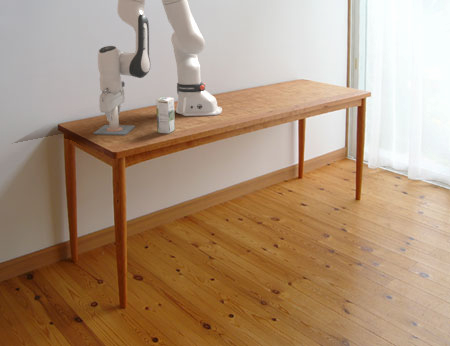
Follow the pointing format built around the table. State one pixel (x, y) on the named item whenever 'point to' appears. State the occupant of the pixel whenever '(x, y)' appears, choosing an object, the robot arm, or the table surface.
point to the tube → (114, 119)
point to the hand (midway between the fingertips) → (113, 117)
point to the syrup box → (165, 115)
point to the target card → (121, 131)
